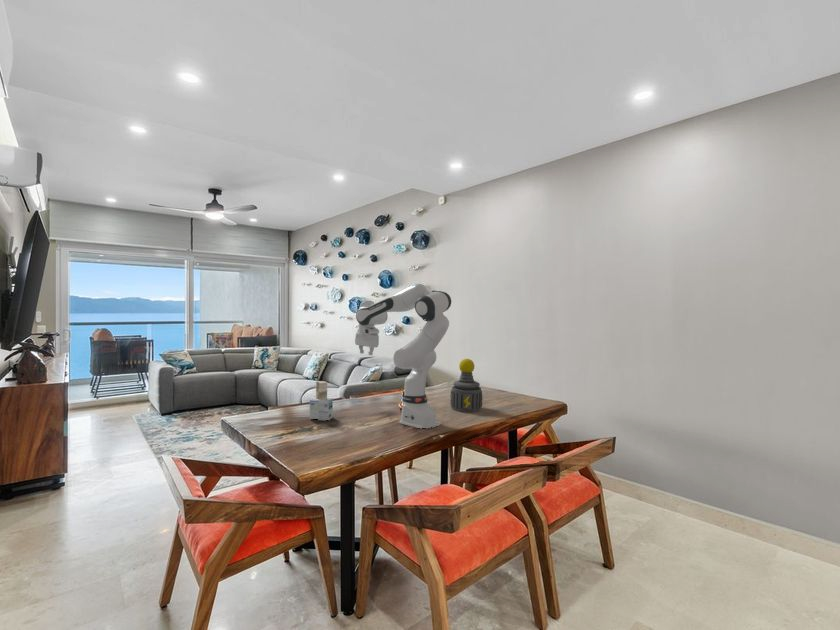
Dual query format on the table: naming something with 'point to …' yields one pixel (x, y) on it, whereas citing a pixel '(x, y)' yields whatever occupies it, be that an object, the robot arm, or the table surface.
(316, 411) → the light bulb box
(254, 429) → the table surface
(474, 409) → the decorative lamp
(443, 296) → the robot arm
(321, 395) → the maple block
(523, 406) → the table surface
